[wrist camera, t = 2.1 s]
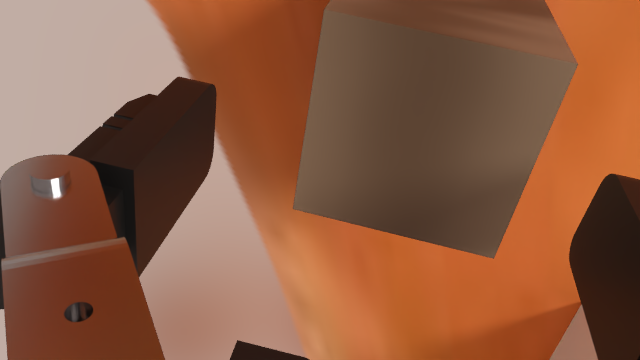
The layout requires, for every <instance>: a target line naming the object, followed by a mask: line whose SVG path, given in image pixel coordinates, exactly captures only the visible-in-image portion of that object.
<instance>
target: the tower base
mask: <svg viewBox="0 0 640 360" xmlns="http://www.w3.org/2000/svg"><path fill="white" fill-rule="evenodd" d="M549 360H598V358H597V355H596V351H595V348H594V344H593V341H592V338H591V334H590V331H589V327H588V324H587V321H586V317H585V314H584V310H583V307H582V304H581V306H580V307H579V309H578V311H577V312H576V314H575V316H574V318H573V319H572V321H571V323H570V325H569V326H568V328H567V330H566V332H565V333H564V335H563V337H562V339H561V340H560V342H559V344H558V345H557V347H556V349H555V351H554V352H553V354H552V356H551V358H550V359H549Z"/></svg>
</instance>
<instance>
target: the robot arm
mask: <svg viewBox="0 0 640 360" xmlns="http://www.w3.org/2000/svg"><path fill="white" fill-rule="evenodd" d="M215 113H216V88H215V86H214V85H213V84H209V83H205V82H200V81H196V80H191V79H187V78H182V77H177V78H176V79H175V80H173V81H172V82H171V83H170V84H169V85H168V86H167V87H166V88H165V89H164V90H163V91H162V92H161V93H160V94H159V95H158V96H156V95H152V94H148V95H145V96H142V97H140V98H137V99H134V100H132V101H129V102H127V103H126V104H125V105H124V106H123V107H122V108H120V109H119V110H118V111H117V112H116V113H115V114H114V117H110V118H109V119H108V120H107V121H106V122H105V123H103V126H102V127H99V128H98V129H96V130H95V131H94V132H93V133H92V134H91V135H90V136H89V137H88V138H86V139H85V140H84V141H83V142H82V143H81V144H80V145H78V146H77V147H76V148H75V149H74V150H73V151H71V152H70V153H69V154H68V155H43V156H37V157H33V158H29V159H26V160H23V161H21V162H19V163H17V164H15V165H14V166H12V167H10V168H9V169H8V170H7V171H6V172H5V173H4V174H3V176H2V178H1V180H0V309H4V311H5V327H6V342H7V356H8V360H165V358H164V355H163V352H162V349H161V345H160V342H159V339H158V336H157V333H156V330H155V327H154V323H153V320H152V317H151V314H150V311H149V308H148V305H147V302H146V299H145V296H144V292H143V289H142V286H141V283H140V280H139V277H140V275H141V273H142V272H143V271H144V269H145V267H146V266H147V264H148V263H149V262H150V260H151V259H152V257H153V256H154V254H155V253H156V251H157V250H158V248H159V247H160V245H161V244H162V242H163V241H164V239H165V238H166V236H167V235H168V233H169V232H170V230H171V229H172V227H173V226H174V224H175V223H176V221H177V220H178V218H179V217H180V215H181V214H182V212H183V211H184V209H185V208H186V206H187V205H188V203H189V202H190V201H191V199H192V198H193V196H194V195H195V193H196V192H197V190H198V188H199V187H200V185H201V184H202V183H203V181H204V179H205V178H206V176H207V174H208V172H209V169H210V165H211V162H212V157H213V149H214V132H215ZM569 261H570V266H571V270H572V273H573V276H574V280H575V283H576V287H577V290H578V293H579V297H580V300H581V304H582V307H583V310H584V314H585V317H586V321H587V324H588V327H589V331H590V334H591V338H592V341H593V344H594V348H595V351H596V355H597V358H598V360H640V180H639V179H635V178H630V177H626V176H621V175H617V174H609V175H608V176H606V177H605V178H604V180H603V181H602V182H601V184H600V186H599V188H598V190H597V192H596V194H595V196H594V198H593V199H592V201H591V203H590V205H589V207H588V209H587V211H586V213H585V215H584V217H583V219H582V221H581V223H580V224H579V226H578V228H577V230H576V232H575V234H574V236H573V239H572V242H571V247H570V254H569ZM230 360H309V359H307V358H305V357H301V356H297V355H293V354H289V353H285V352H280V351H277V350H273V349H269V348H265V347H261V346H258V345H253V344H250V343H245V342H242V341H238V340H237V343H236V345H235V348H234V350H233V353H232V355H231V358H230Z"/></svg>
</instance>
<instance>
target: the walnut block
mask: <svg viewBox="0 0 640 360" xmlns="http://www.w3.org/2000/svg"><path fill="white" fill-rule="evenodd" d="M577 65H578V63H577V61H576V59H575V57H574V55H573V53H572V52H571V50H570V48H569V46H568V44H567V42H566V40H565V38H564V36H563V34H562V33H561V31H560V29H559V27H558V25H557V23H556V21H555V19H554V17H553V15H552V14H551V12H550V10H549V8H548V6H547V4H546V2H545V0H330V2H329V3H328V5H327V6H326V7H325V9H324V14H323V20H322V26H321V33H320V39H319V45H318V52H317V58H316V65H315V71H314V77H313V84H312V90H311V96H310V103H309V109H308V116H307V122H306V128H305V135H304V141H303V147H302V154H301V160H300V167H299V173H298V179H297V186H296V192H295V199H294V205H293V209H295V210H299V211H303V212H307V213H311V214H315V215H319V216H323V217H327V218H331V219H335V220H340V221H344V222H348V223H352V224H356V225H360V226H364V227H368V228H372V229H376V230H380V231H384V232H388V233H392V234H396V235H400V236H404V237H408V238H412V239H416V240H421V241H425V242H429V243H433V244H437V245H441V246H445V247H449V248H453V249H457V250H461V251H465V252H469V253H473V254H477V255H481V256H485V257H489V258H493V259H494V257H495V255H496V252H497V250H498V248H499V245H500V243H501V241H502V238H503V236H504V234H505V232H506V229H507V227H508V225H509V222H510V220H511V218H512V215H513V213H514V211H515V208H516V206H517V204H518V202H519V199H520V197H521V195H522V192H523V190H524V188H525V185H526V183H527V181H528V178H529V176H530V174H531V171H532V169H533V167H534V165H535V162H536V160H537V158H538V155H539V153H540V151H541V148H542V146H543V144H544V141H545V139H546V137H547V135H548V132H549V130H550V128H551V125H552V123H553V121H554V118H555V116H556V114H557V111H558V109H559V107H560V105H561V102H562V100H563V98H564V95H565V93H566V91H567V88H568V86H569V84H570V81H571V79H572V77H573V75H574V72H575V70H576V68H577Z"/></svg>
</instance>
